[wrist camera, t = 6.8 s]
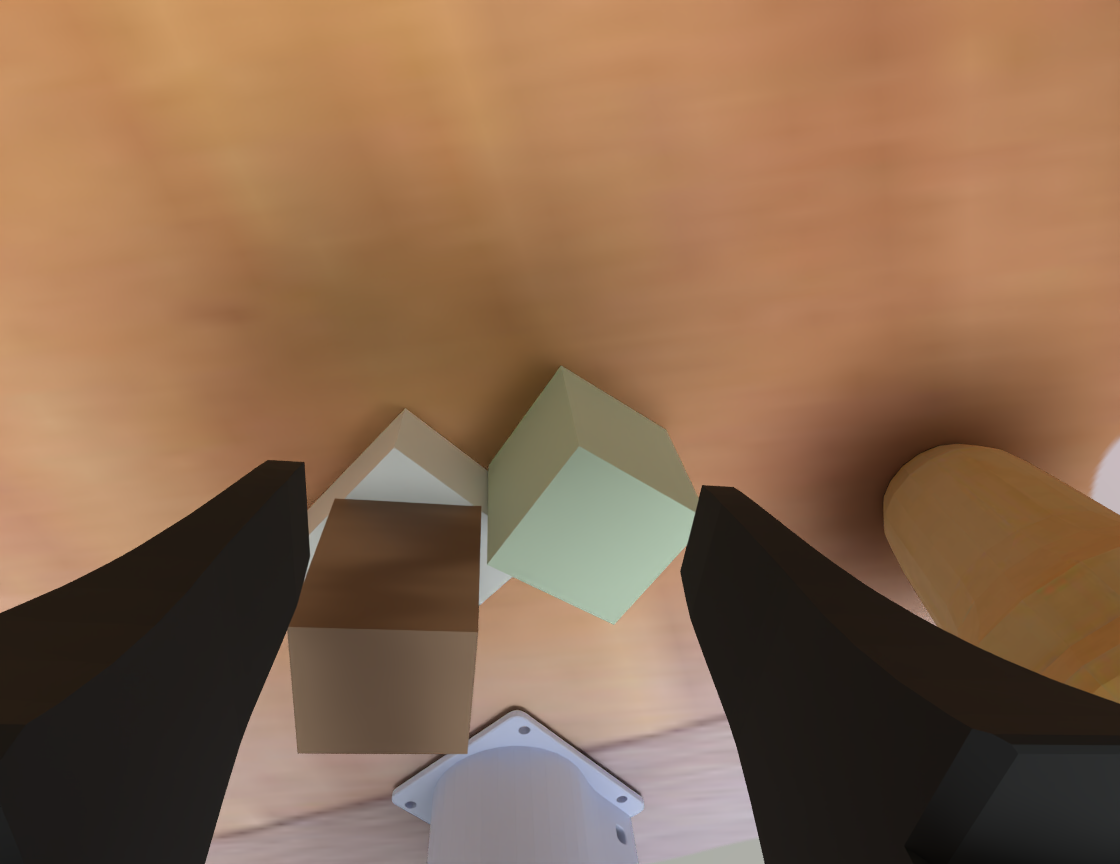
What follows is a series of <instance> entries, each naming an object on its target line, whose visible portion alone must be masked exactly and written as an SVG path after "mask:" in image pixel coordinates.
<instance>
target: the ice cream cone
mask: <svg viewBox="0 0 1120 864" xmlns="http://www.w3.org/2000/svg"><path fill="white" fill-rule="evenodd" d="M883 516H884V533H885V535H886V538H887V540H888V542H889V545H890V547H891V549H892V551H893V553H894V555H895V557H896V559H897V561H898V563H899V565H900V566H901V568H902V570H903V572H904V574H905V575H906V577H907V579H908V580H909V582H910V584H911V585H912V587H913V588H914V590H915V592H916V593H917V595H918V597H919V598H920V600H921V601H922V603H923V604H924V606H925V608H926V609H927V611H928V612H929V614H930V616H931V617H932V619H933V620H934V622H935V624H936V625H937V627H939V628H941V629H943V630H945V631H947V632H949V633H951V634H953V635H955V636H957V637H959V638H961V639H963V640H965V641H967V642H969V643H971V644H973V645H975V646H977V647H979V648H981V649H983V650H985V651H988V652H990V653H992V654H994V655H996V656H999V657H1001V658H1003V659H1005V660H1008V661H1010V662H1012V663H1015V664H1017V665H1019V666H1022V667H1024V668H1027V669H1029V670H1031V671H1034V672H1036V673H1039V674H1041V675H1043V676H1046V677H1048V678H1051V679H1053V680H1056V681H1058V682H1061V683H1064V684H1066V685H1069V686H1072V687H1075V688H1078V689H1080V690H1083V691H1086V692H1089V693H1091V694H1094V695H1097V696H1100V697H1103V698H1105V699H1108V700H1111V701H1114V702H1117V703H1119V704H1120V515H1118V514H1117V513H1115V512H1113V511H1112V510H1110V509H1108V508H1106V507H1105V506H1103V505H1101V504H1100V503H1098V502H1096V501H1095V500H1093V499H1091V498H1090V497H1088V496H1086V495H1084V494H1083V493H1081V492H1079V491H1077V490H1076V489H1074V488H1072V487H1071V486H1069V485H1067V484H1065V483H1064V482H1062V481H1060V480H1059V479H1057V478H1055V477H1053V476H1051V475H1050V474H1048V473H1046V472H1044V471H1043V470H1041V469H1039V468H1037V467H1035V466H1034V465H1032V464H1030V463H1028V462H1026V461H1024V460H1022V459H1020V458H1018V457H1016V456H1014V455H1012V454H1010V453H1008V452H1005V451H1003V450H1001V449H995V448H990V447H984V446H977V445H967V444H950V445H942V446H937V447H935V448H932V449H930V450H927V451H925V452H923V453H920V454H918V455H917V456H916V457H914V458H913V459H912V460H910V461H909V462H908V463H906V464H905V465H904V466H902V468H901V469H900V470H899V471H898V473H897V474H896V475H895V476H894V477H893V479H892V480H891V481H890V483H889V486H888V488H887V490H886V493H885V495H884V501H883Z"/></svg>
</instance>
